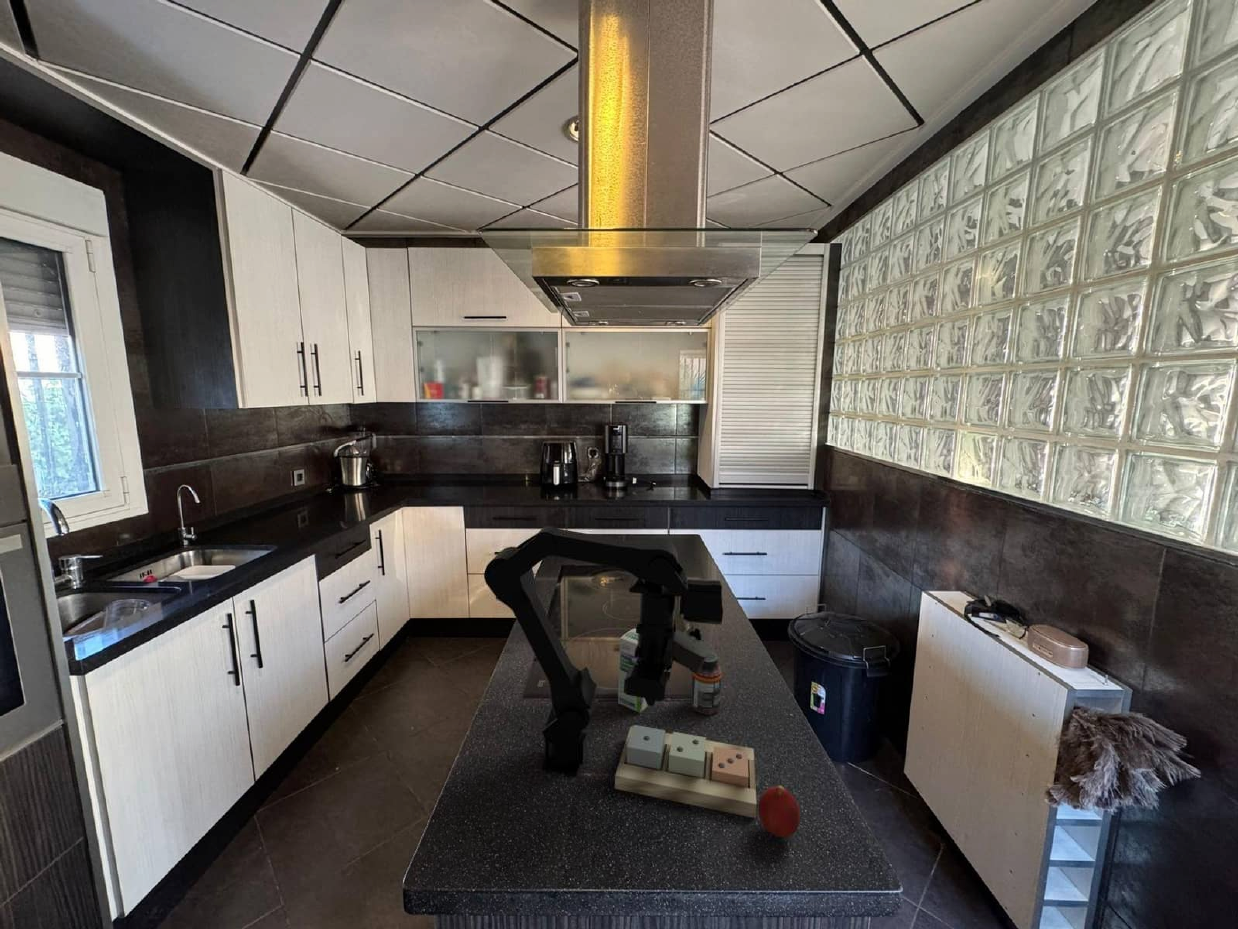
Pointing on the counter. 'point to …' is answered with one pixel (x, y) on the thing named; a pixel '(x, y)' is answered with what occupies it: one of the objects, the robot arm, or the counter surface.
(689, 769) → the tile two pip
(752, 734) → the counter surface
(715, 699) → the supplement bottle
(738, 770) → the tile three pip
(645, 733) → the single dot cube
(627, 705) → the syrup box
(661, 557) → the robot arm
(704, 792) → the tile tray
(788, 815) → the onion
